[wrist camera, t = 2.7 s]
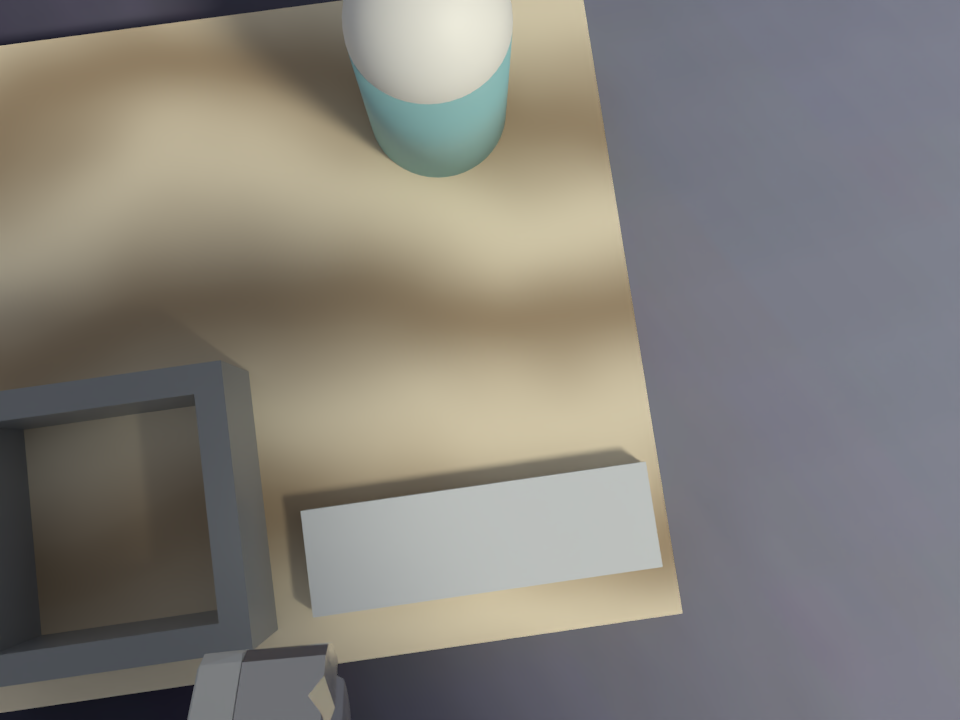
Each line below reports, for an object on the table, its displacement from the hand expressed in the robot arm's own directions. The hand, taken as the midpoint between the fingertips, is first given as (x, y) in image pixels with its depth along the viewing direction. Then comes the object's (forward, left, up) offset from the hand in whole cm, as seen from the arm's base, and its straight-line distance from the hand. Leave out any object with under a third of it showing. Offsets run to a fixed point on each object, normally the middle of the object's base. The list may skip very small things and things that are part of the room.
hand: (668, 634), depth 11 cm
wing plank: (0, +2, -16) cm, 16 cm away
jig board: (+7, +7, -17) cm, 20 cm away
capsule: (+13, +2, -16) cm, 21 cm away
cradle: (+2, +12, -16) cm, 20 cm away
